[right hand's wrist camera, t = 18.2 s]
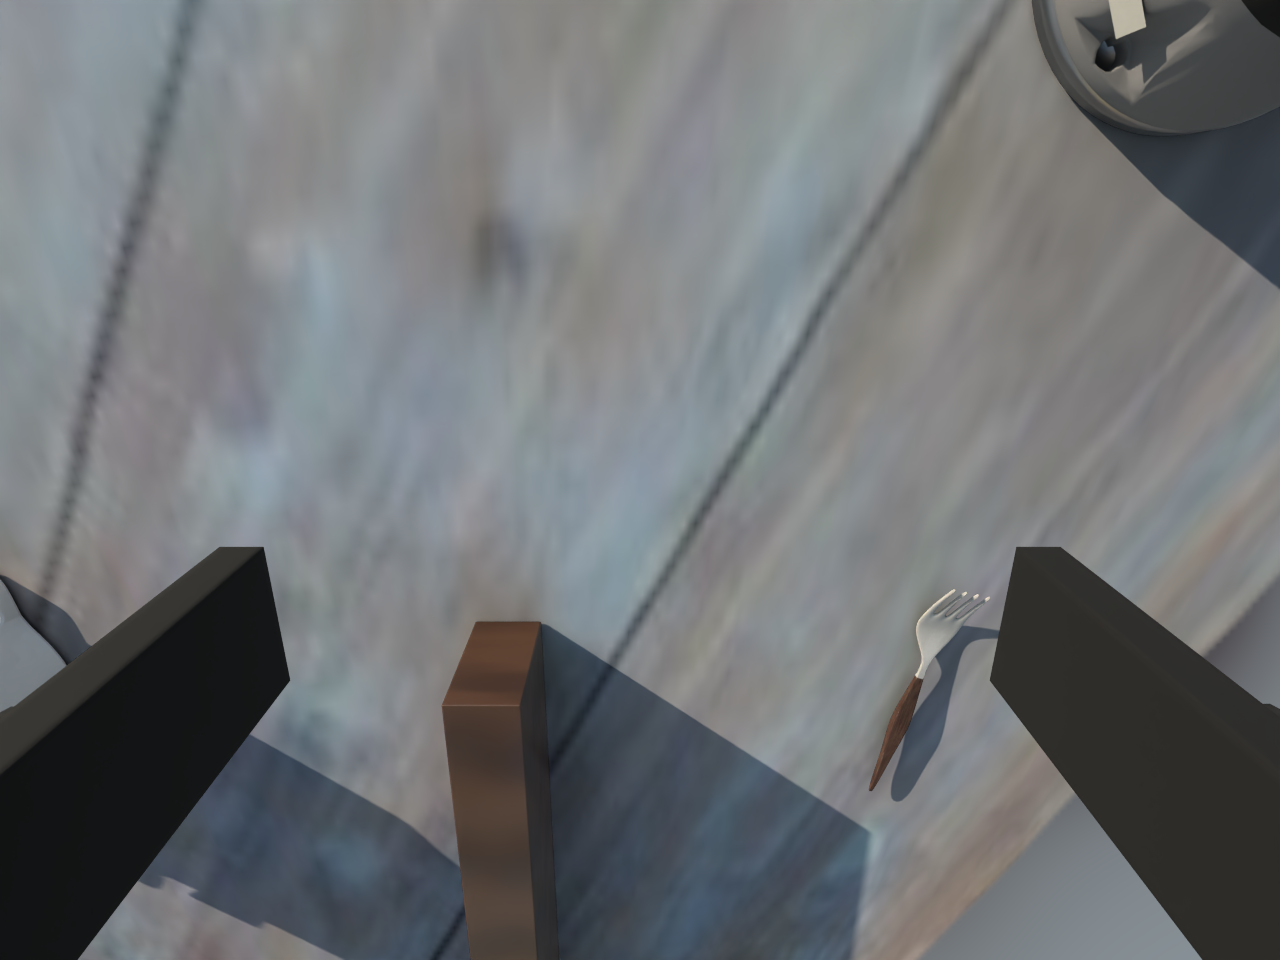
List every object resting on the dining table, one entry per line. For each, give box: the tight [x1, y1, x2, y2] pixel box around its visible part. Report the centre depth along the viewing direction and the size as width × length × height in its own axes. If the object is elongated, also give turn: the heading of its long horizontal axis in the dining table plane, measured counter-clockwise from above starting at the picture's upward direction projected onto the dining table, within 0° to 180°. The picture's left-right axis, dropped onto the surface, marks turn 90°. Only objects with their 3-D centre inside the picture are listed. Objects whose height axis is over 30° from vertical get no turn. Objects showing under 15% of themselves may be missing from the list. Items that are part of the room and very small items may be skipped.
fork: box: [869, 589, 990, 791], centre depth 44 cm, size 3×16×2 cm, turn 167°
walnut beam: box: [442, 622, 559, 960], centre depth 47 cm, size 46×4×8 cm, turn 0°
